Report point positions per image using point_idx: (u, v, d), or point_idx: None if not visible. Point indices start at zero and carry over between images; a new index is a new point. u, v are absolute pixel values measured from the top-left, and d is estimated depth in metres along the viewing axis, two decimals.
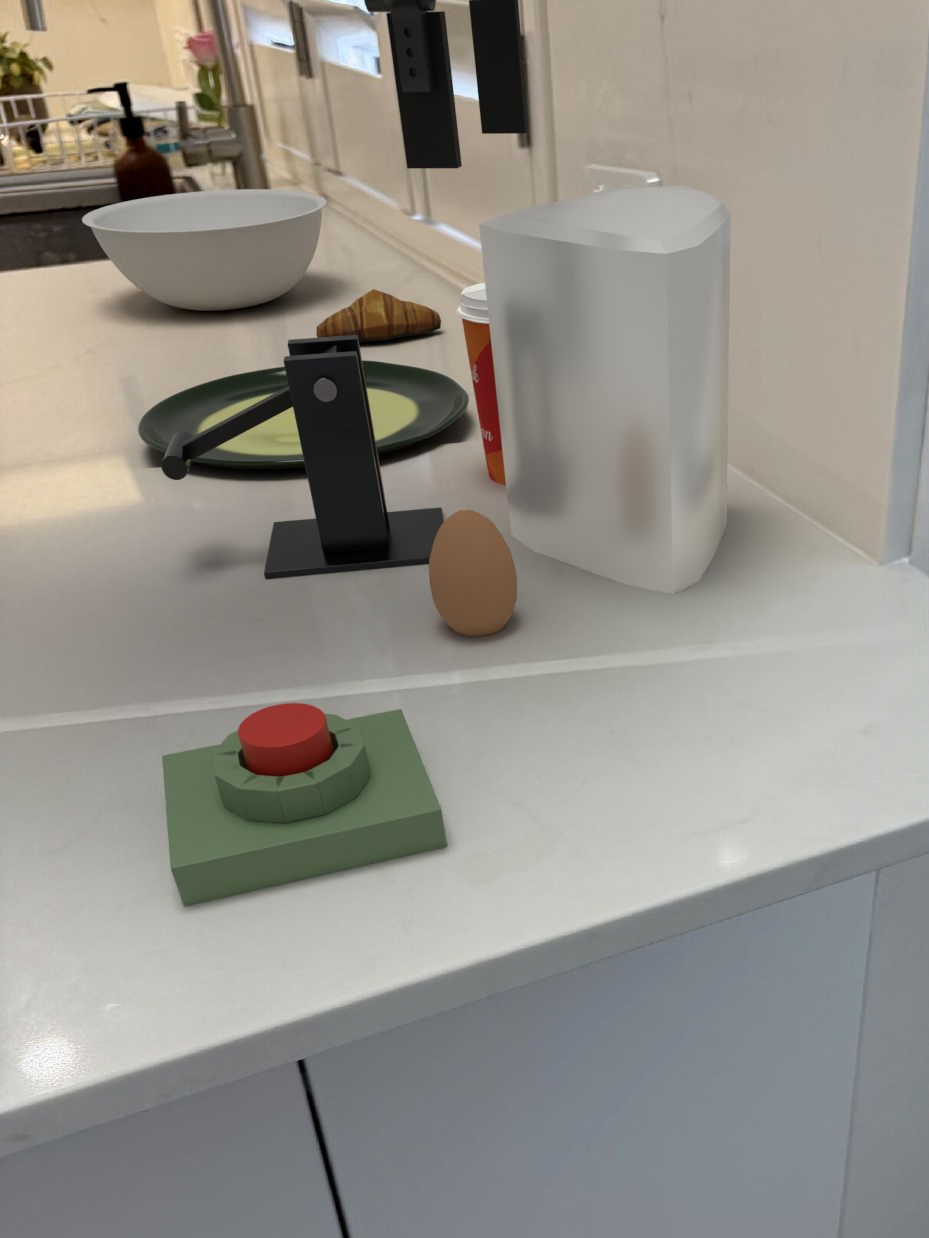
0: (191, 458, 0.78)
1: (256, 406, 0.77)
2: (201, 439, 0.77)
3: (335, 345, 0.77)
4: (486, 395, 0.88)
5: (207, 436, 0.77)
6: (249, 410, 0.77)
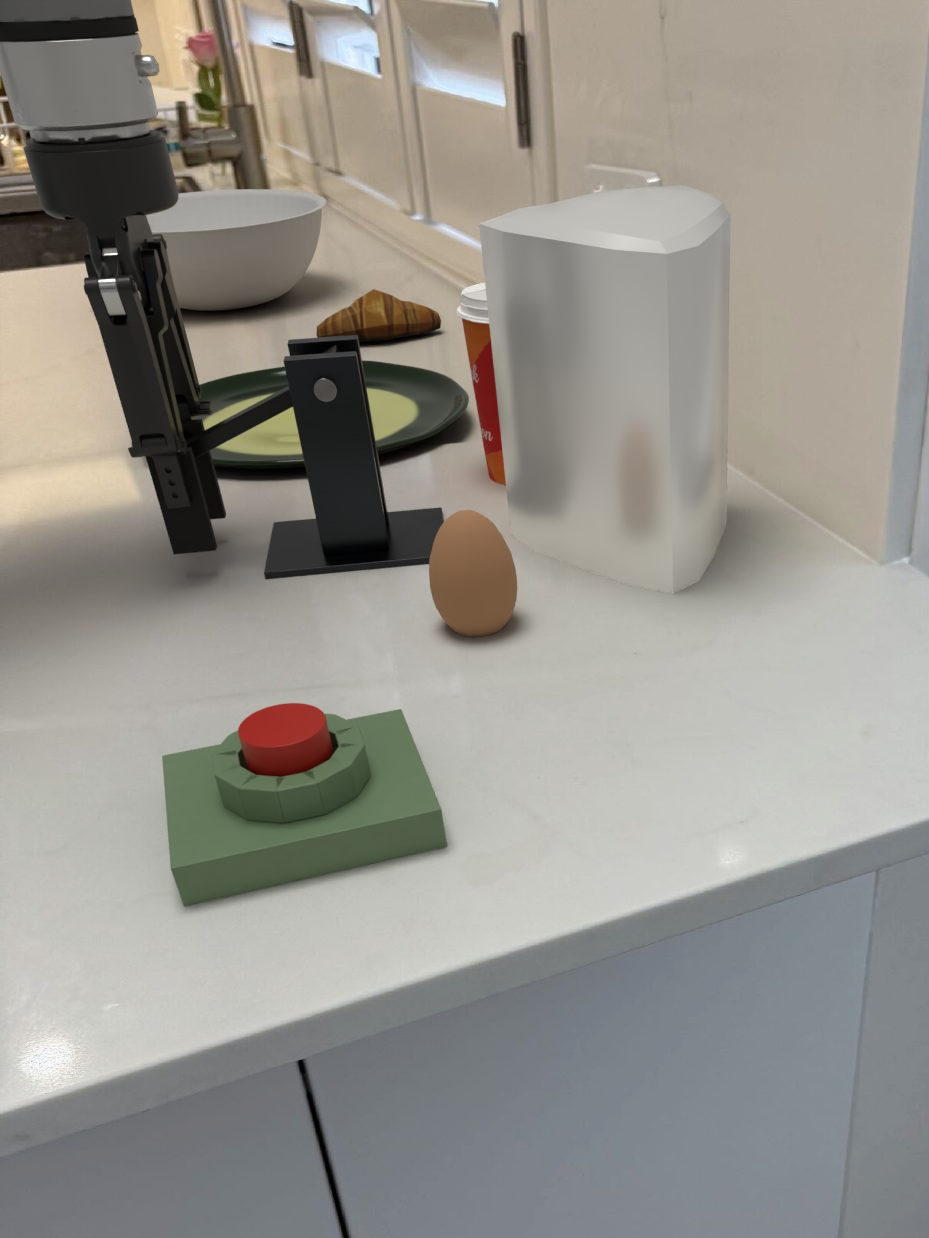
0: None
1: (256, 406, 0.77)
2: (201, 439, 0.77)
3: (335, 345, 0.77)
4: (486, 395, 0.88)
5: (207, 436, 0.77)
6: (249, 410, 0.77)
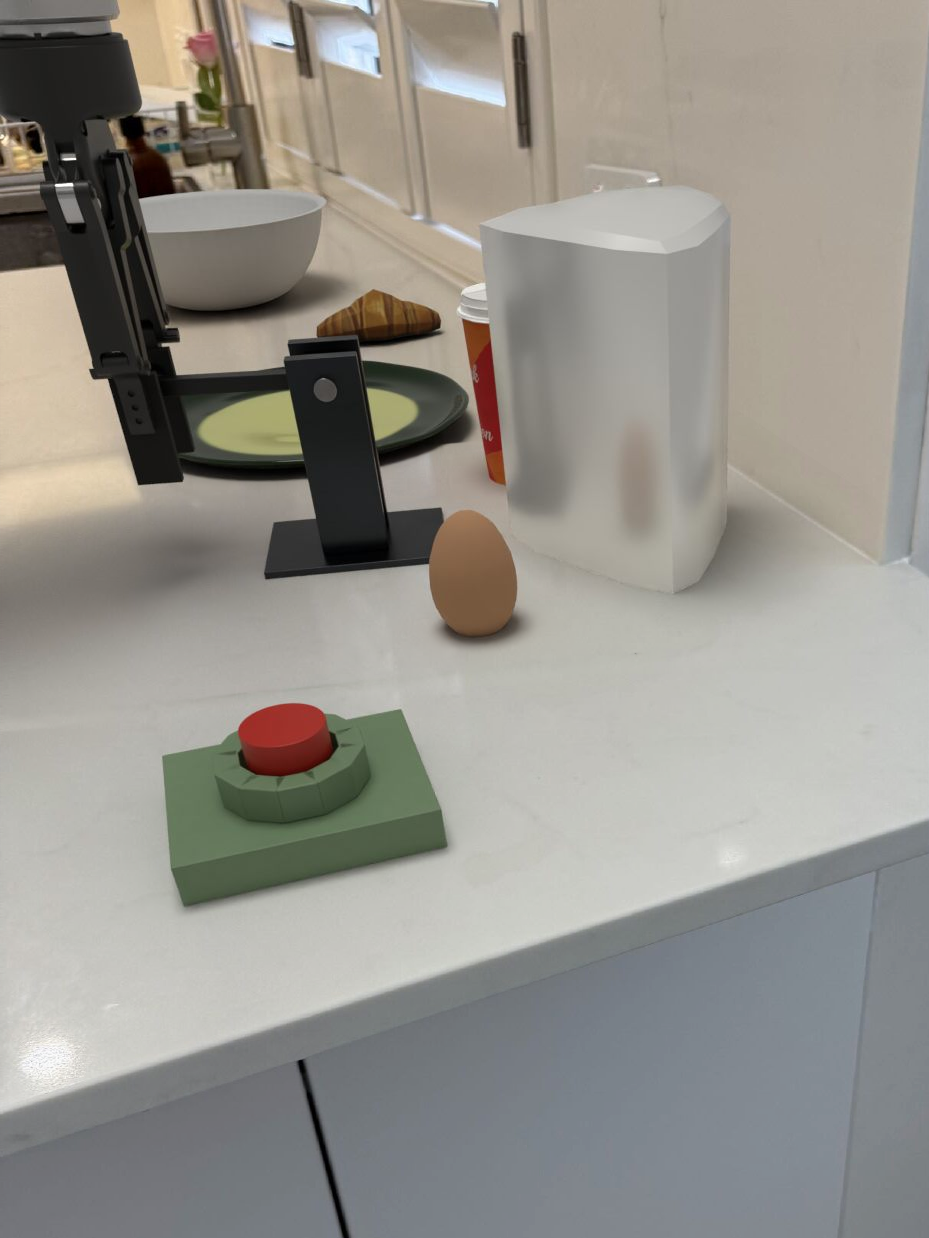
0: None
1: (246, 375, 0.76)
2: (178, 382, 0.75)
3: None
4: (486, 395, 0.88)
5: (185, 382, 0.75)
6: (238, 375, 0.76)
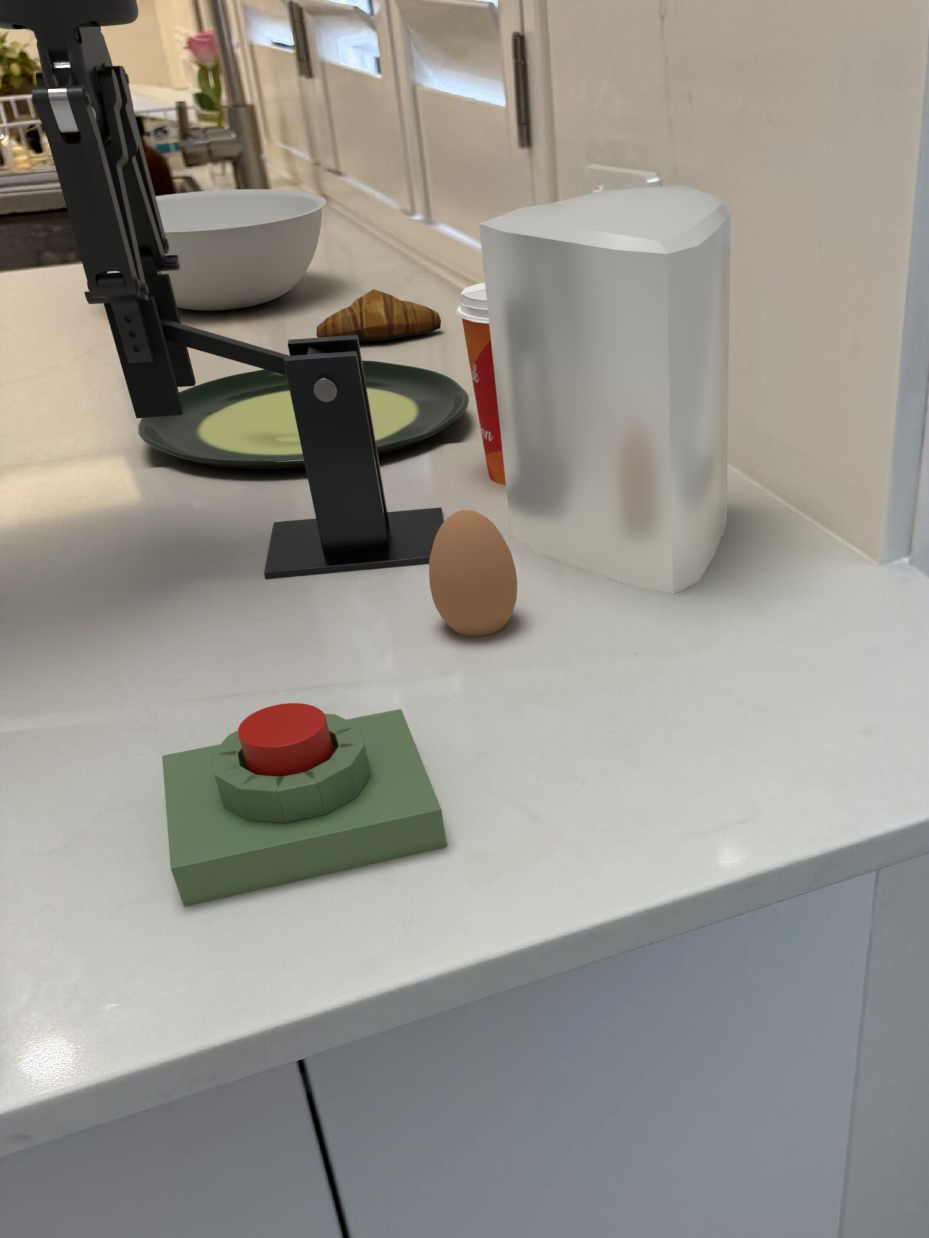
0: None
1: (248, 347, 0.75)
2: (176, 330, 0.73)
3: None
4: (486, 395, 0.88)
5: (183, 332, 0.73)
6: (239, 345, 0.75)
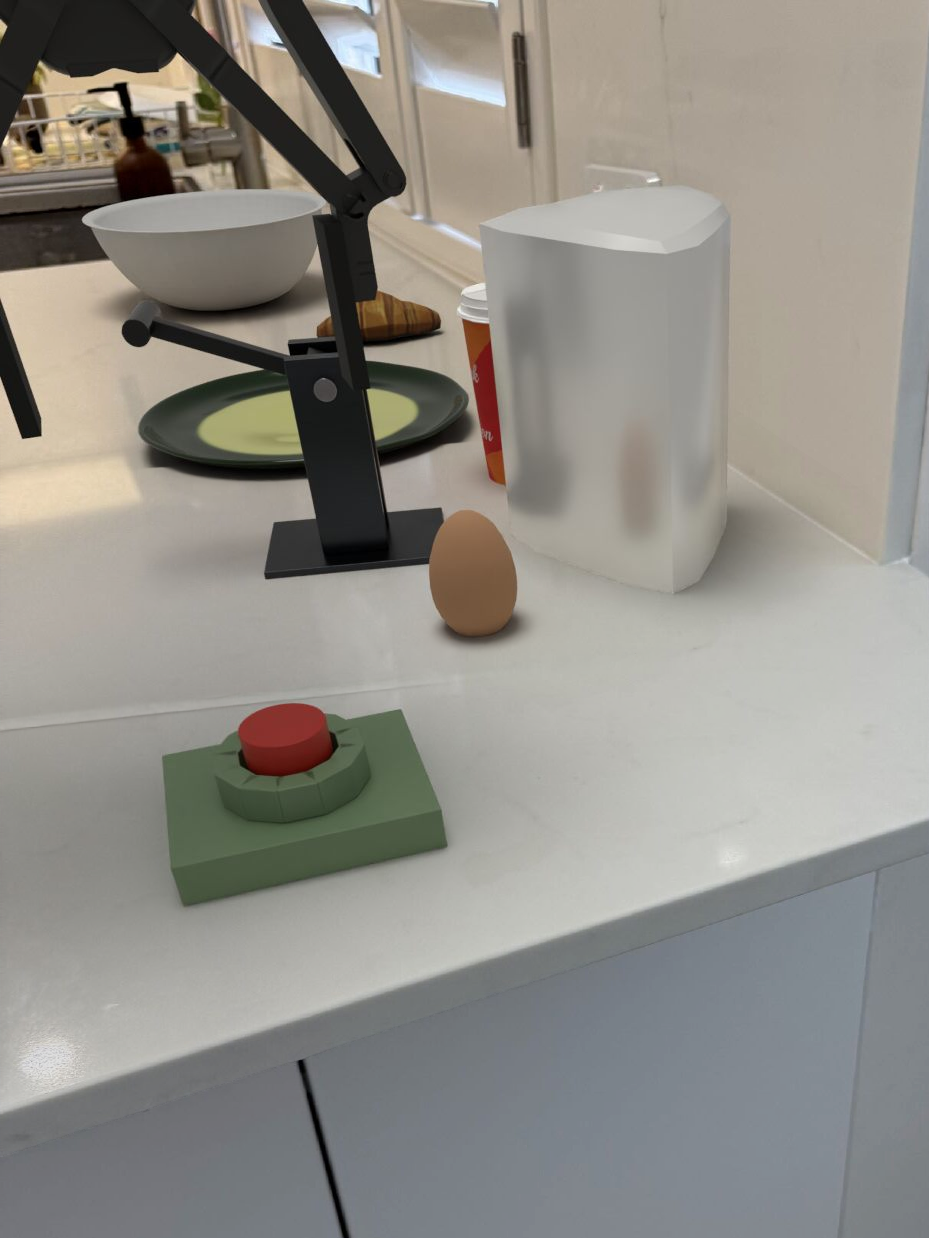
0: (152, 335, 0.73)
1: (248, 347, 0.75)
2: (176, 330, 0.73)
3: None
4: (486, 395, 0.88)
5: (183, 332, 0.73)
6: (239, 345, 0.75)
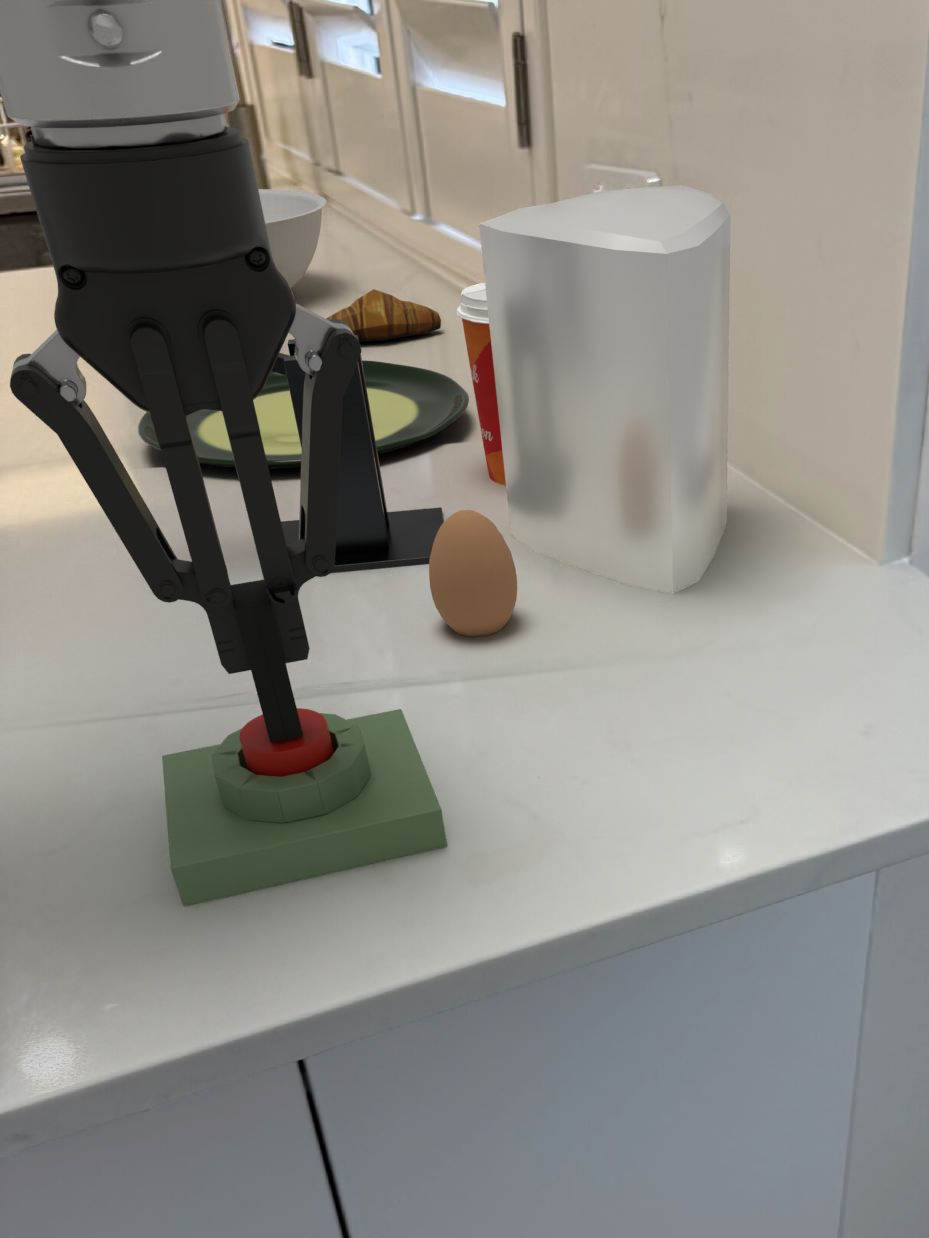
0: None
1: None
2: None
3: None
4: (486, 395, 0.88)
5: None
6: None
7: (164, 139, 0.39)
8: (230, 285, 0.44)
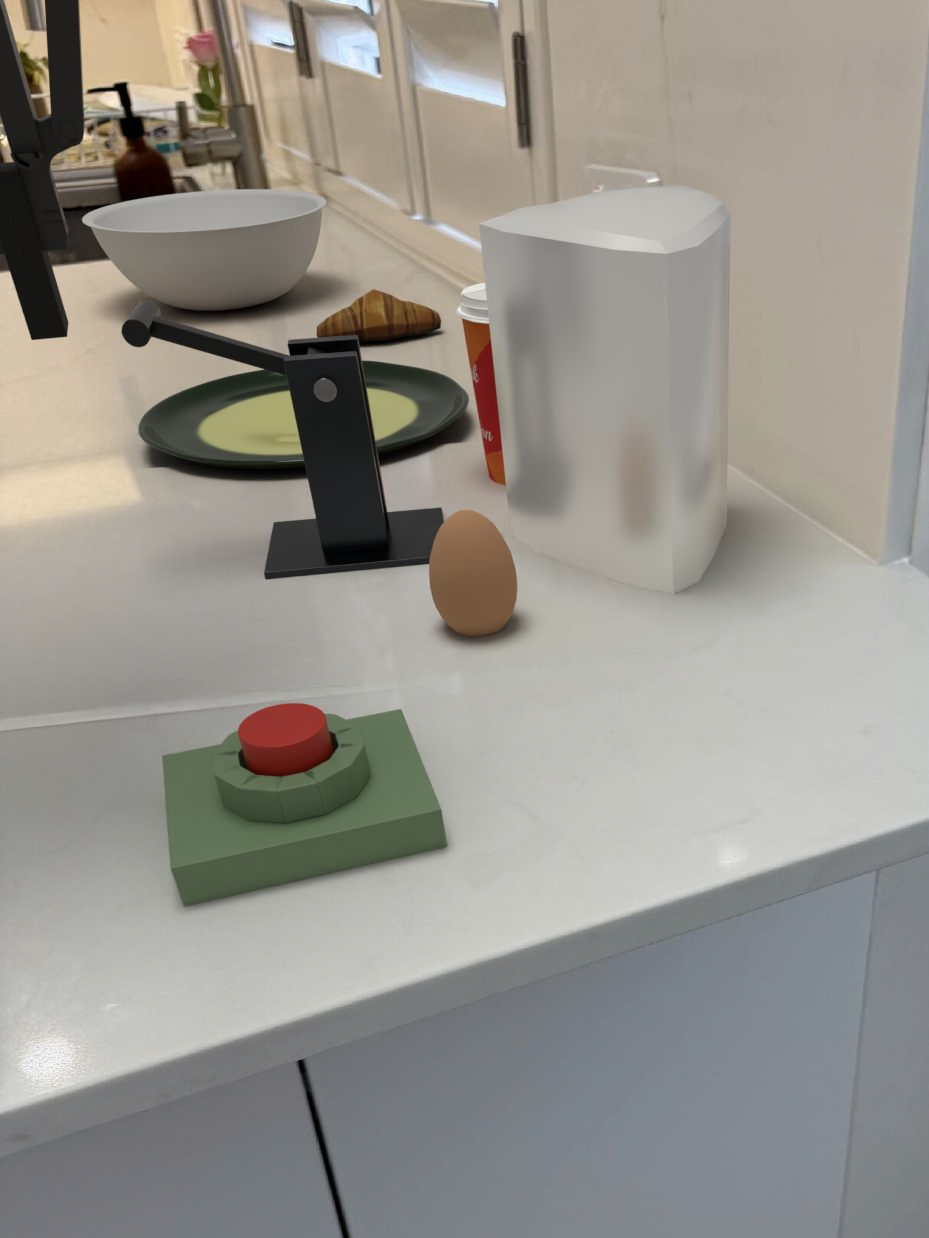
0: (152, 335, 0.73)
1: (248, 347, 0.75)
2: (176, 330, 0.73)
3: None
4: (486, 395, 0.88)
5: (183, 332, 0.73)
6: (239, 345, 0.75)
7: None
8: None
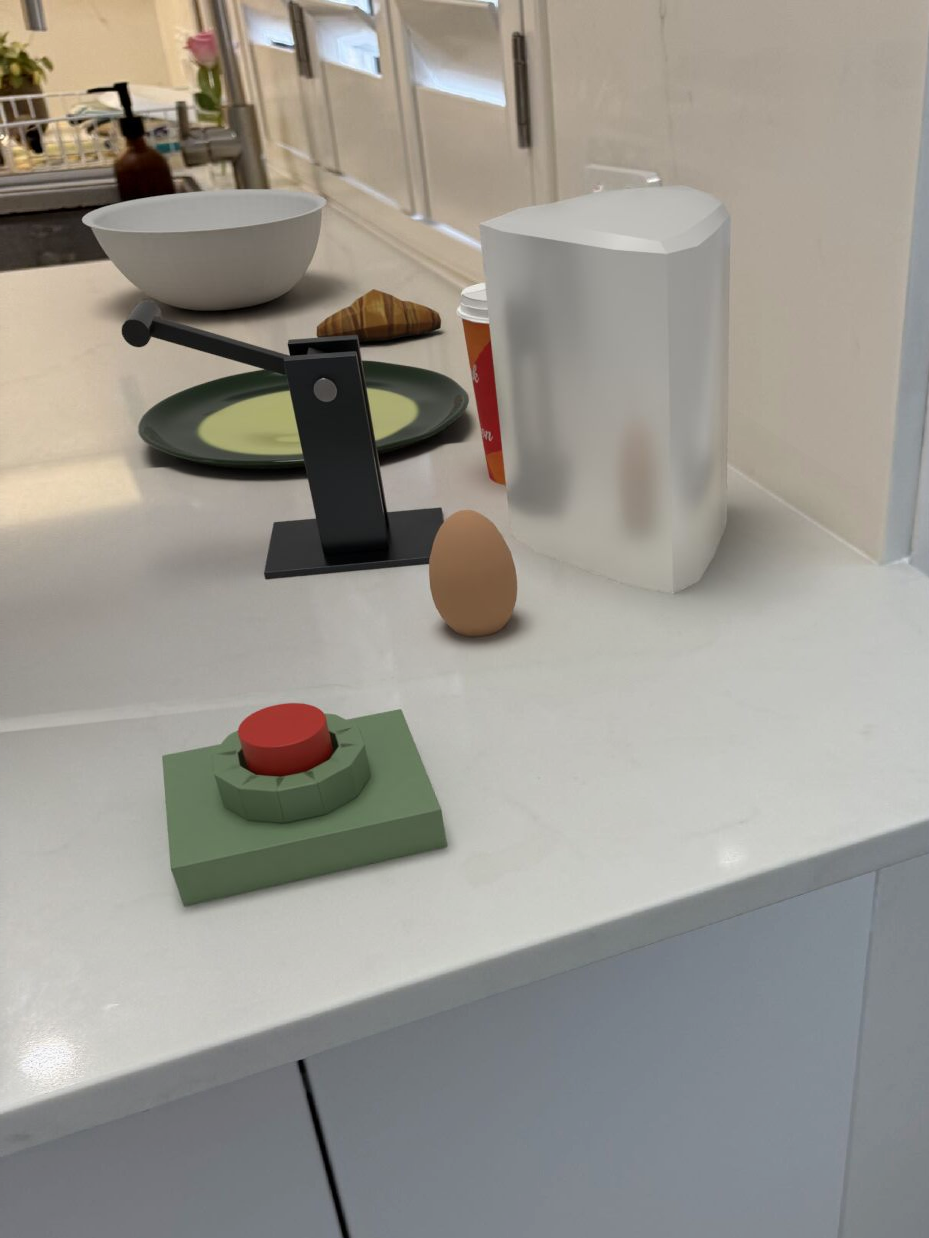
0: (152, 335, 0.73)
1: (248, 347, 0.75)
2: (176, 330, 0.73)
3: None
4: (486, 395, 0.88)
5: (183, 332, 0.73)
6: (239, 345, 0.75)
7: None
8: None
